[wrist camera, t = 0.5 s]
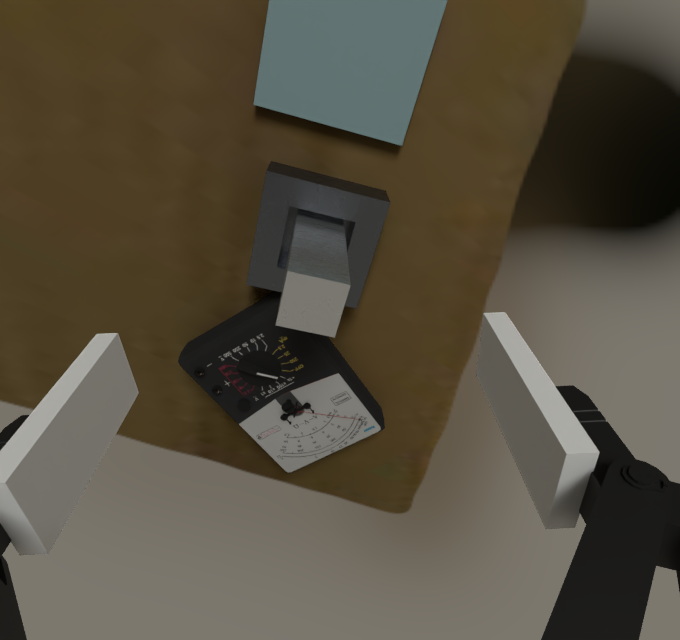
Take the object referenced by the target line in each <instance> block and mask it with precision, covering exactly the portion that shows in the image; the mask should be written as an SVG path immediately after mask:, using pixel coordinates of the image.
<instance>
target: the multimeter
mask: <svg viewBox="0 0 680 640" xmlns="http://www.w3.org/2000/svg"><path fill="white" fill-rule="evenodd" d="M280 298H281V292H278V291H275V292H274V293H272V294H270V295H268V296H267V297H265V298H263V299H262V300H260V301H258V302H257V303H255V304H253V305H251V306H250V307H248V308H246V309H245V310H243V311H241V312H240V313H238V314H236V315H234V316H233V317H231V318H229V319H228V320H226V321H224V322H223V323H221V324H219V325H217V326H216V327H214V328H212V329H211V330H209V331H207V332H205V333H204V334H202V335H200V336H199V337H197V338H195V339H194V340H192V341H190V342H188V343H187V345H186V346H185V347H184V349H183V350H182V352H181V354H180V357H179V360H178V362H179V364H180V366H181V367H182V368H183V369H184V370H185V371H186V372H187V373H188V374H189V375H190V376H191V377H192V378H193V379H194V380H195V381H196V382H197V383H198V384H199V385H200V386H201V387H202V388H203V389H204V390H205V391H206V392H207V393H208V394H209V395H210V396H211V397H212V398H213V399H214V400H215V401H216V402H217V403H218V404H219V405H220V406H221V407H222V408H223V409H224V410H225V411H226V412H227V413H228V414H229V415H230V416H231V417H232V418H233V419H234V420H235V421H236V422H237V423H238V424H239V425H240V426H241V427H242V428H243V429H244V430H245V431H246V432H247V433H248V434H249V435H250V436H251V437H252V438H253V439H254V440H255V441H256V442H257V443H258V444H259V445H260V446H261V447H262V448H263V449H264V450H265V451H266V452H267V453H268V454H269V455H270V456H271V457H272V458H273V459H274V461H275V462H276V463H277V464H278V465H279V466H280V467H281V468H282V469H283V470H284V471H286V472H288V473H290V472H293V471H295V470H297V469H300V468H302V467H304V466H306V465H308V464H310V463H313V462H315V461H317V460H319V459H321V458H323V457H325V456H328V455H330V454H332V453H334V452H336V451H338V450H341V449H343V448H345V447H347V446H349V445H351V444H353V443H356V442H358V441H360V440H362V439H364V438H366V437H368V436H371V435H373V434H375V433H377V432H379V431H381V430H383V429H384V428H385V426H384V417H383V413H382V409H381V407H380V406H379V404H378V403H377V402H376V400H375V399H374V398H373V396H372V395H371V394H370V392H369V391H368V390H367V388H366V387H365V386H364V384H363V383H362V382H361V380H360V379H359V378H358V376H357V375H356V374H355V372H354V371H353V370H352V368H351V367H350V366H349V365H348V363H347V362H346V361H345V359H344V358H343V357H342V355H341V354H340V353H339V351H338V350H337V349H336V347H335V346H334V345H333V343H332V342H331V341H330V339H329V338H328V337H327V336H325V335H320V334H315V333H310V332H305V331H300V330H296V329H291V328H286V327H281V326H276V320H277V314H278V309H279V303H280Z"/></svg>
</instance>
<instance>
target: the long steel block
mask: <svg viewBox="0 0 680 640" xmlns="http://www.w3.org/2000/svg"><path fill="white" fill-rule="evenodd" d="M350 286H351V284H350V275H349V265H348V256H347V247H346V238H345V228H344V219H340V218H336V217H332V216H328V215H324V214H320V213H316V212H312V211H308V210H304V209H300V208H298V212H297V216H296V221H295V225H294V230H293V235H292V239H291V244H290V248H289V253H288V259H287V264H286V270H285V275H284V281H283V287H282V292H281V298H280V303H279V309H278V314H277V320H276V326H281V327H286V328H291V329H296V330H300V331H305V332H310V333H315V334H320V335H325V336H330V337H334V338H335V335H336V332H337V328H338V325H339V322H340V319H341V315H342V312H343V309H344V305H345V302H346V299H347V295H348V292H349V289H350Z"/></svg>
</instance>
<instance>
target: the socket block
mask: <svg viewBox="0 0 680 640" xmlns="http://www.w3.org/2000/svg"><path fill="white" fill-rule="evenodd" d="M389 205H390V200H389V198H388V196H387V193H386V191H384V190H380V189H376V188H372V187H368V186H365V185H361V184H357V183H353V182H349V181H345V180H342V179H338V178H334V177H330V176H326V175H322V174H319V173H315V172H311V171H307V170H303V169H299V168H295V167H292V166H288V165H284V164H280V163H276V162H272V161H271V163H270V165H269V167H268V169H267V171H266V177H265V182H264V188H263V194H262V199H261V205H260V211H259V216H258V222H257V228H256V233H255V239H254V245H253V250H252V256H251V261H250V267H249V273H248V278H247V284H246V285H250V286H255V287H259V288H264V289H269V290H273V291H278V292H282V287H283V281H284V275H285V270H286V264H287V259H288V253H289V248H290V244H291V239H292V235H293V230H294V225H295V221H296V216H297V212H298V208H300V209H304V210H308V211H312V212H316V213H320V214H324V215H328V216H332V217H336V218H340V219H344V228H345V238H346V247H347V256H348V265H349V275H350V284H351V286H350V289H349V292H348V295H347V299H346V302H345V305H344V306H347V307H351V308H356V309H357V306H358V302H359V299H360V296H361V293H362V290H363V287H364V284H365V281H366V277H367V274H368V271H369V268H370V265H371V262H372V259H373V255H374V252H375V249H376V246H377V243H378V240H379V237H380V234H381V230H382V227H383V224H384V221H385V218H386V215H387V212H388V209H389Z"/></svg>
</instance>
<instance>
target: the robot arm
mask: <svg viewBox="0 0 680 640" xmlns="http://www.w3.org/2000/svg"><path fill="white" fill-rule="evenodd" d="M476 376H477V379H478V381H479V383H480V385H481V387H482V390H483V392H484V394H485V396H486V398H487V400H488V403H489V405H490V407H491V409H492V412H493V414H494V416H495V418H496V420H497V423H498V425H499V427H500V429H501V431H502V434H503V436H504V438H505V440H506V443H507V445H508V447H509V449H510V451H511V453H512V456H513V458H514V460H515V462H516V465H517V467H518V469H519V471H520V473H521V476H522V478H523V480H524V482H525V484H526V487H527V489H528V491H529V493H530V496H531V498H532V500H533V502H534V504H535V506H536V509H537V511H538V513H539V515H540V517H541V520H542V522H543V524H544V526H545V529H557V528H574V527H575V526H576V522H577V520H578V517H579V514H581V515H582V517H583V519H584V521H585V523H586V527H585V530H584V532H583V534H582V537H581V540H580V542H579V545H578V547H577V550H576V552H575V555H574V557H573V560H572V562H571V565H570V568H569V570H568V573H567V576H566V578H565V580H564V583H563V585H562V588H561V591H560V593H559V596H558V598H557V601H556V603H555V606H554V608H553V611H552V613H551V616H550V618H549V621H548V624H547V626H546V629H545V631H544V634H543V636H542V639H541V640H639V636H640V632H641V627H642V623H643V619H644V614H645V610H646V606H647V602H648V597H649V593H650V589H651V585H652V580H653V576H654V572H655V568H656V566H660V567H664V568H668V569H672V570H676V571H677V578H678V584H679V591H680V484H678V483H675V482H671V481H669V480H668V478H667V477H666V475H664V474H663V473H662V472H661V471H660V470H659V469H657V468H656V467H654V466H652V465H650V464H648V463H646V462H643V461H640V460H636V459H635V458H634V456H633V455H632V454H631V452H630V451H629V450H628V448H627V447H626V446H625V444H624V443H623V442H622V440H621V439H620V438H619V436H618V435H617V434H616V432H615V431H614V430H613V428H612V427H611V426H610V424H609V423H608V422H606V420H605V418H604V416H603V415H602V414H601V412H600V411H598V408H597V407H596V406H595V404H594V403H593V402H592V400H591V399H590V398H589V396H587V395H586V394H584V393H583V392H582V391H580V390H579V389H577V388H576V387H575V386H556V387H555V385H554V384H553V382H552V381H551V379H550V378H549V377H548V375H547V374H546V372H545V371H544V369H543V368H542V366H541V365H540V363H539V362H538V360H537V359H536V357H535V356H534V354H533V353H532V351H531V350H530V348H529V347H528V345H527V344H526V342H525V341H524V339H523V338H522V336H521V335H520V334H519V332H518V330H517V329H516V328H515V326H514V325H513V323H512V322H511V320H510V319H509V317H508V316H507V314H506V313H505V312H498V313H484V314H483V322H482V330H481V338H480V347H479V355H478V362H477V370H476ZM138 393H139V392H138V389H137V386H136V383H135V381H134V378H133V375H132V372H131V369H130V366H129V363H128V361H127V358H126V355H125V352H124V349H123V346H122V343H121V340H120V338H119V335H118V333H107V334H96V336H95V337H94V338H93V339H92V340H91V342H90V343H89V344H88V345H87V346H86V348H85V349H84V350H83V351H82V352H81V354H80V355H79V356H78V357H77V359H76V360H75V361H74V362H73V363H72V365H71V366H70V367H69V368H68V369H67V371H66V372H65V373H64V374H63V375H62V377H61V378H60V379H59V380H58V382H57V383H56V384H55V385H54V386H53V388H52V389H51V390H50V391H49V392H48V394H47V395H46V396H45V397H44V399H43V400H42V401H41V402H40V403H39V405H38V406H37V407H36V408H35V409H34V411H33V412H32V413H31V414H30V415H23V416H20V417H19V418H18V419H16V420H15V421H13V422H12V423H11V424H9V425H8V426H7V427H5V428H4V429H3V430H2V432H1V433H0V640H27V639H26V635H25V631H24V627H23V623H22V619H21V615H20V611H19V607H18V603H17V600H16V595H15V591H14V588H13V584H12V580H11V576H10V572H9V568H8V564H7V562H6V560H5V559H4V558H3V556H2V554H3V553H4V551H5V550H6V548H7V546H8V545H9V543H10V542H12V544H13V545H14V547H15V548H16V550H17V551H18V553H19V554H20V555H35V554H49V552H50V551H51V549H52V547H53V545H54V544H55V542H56V540H57V538H58V536H59V535H60V533H61V531H62V529H63V527H64V526H65V524H66V522H67V520H68V518H69V517H70V515H71V513H72V511H73V510H74V508H75V506H76V504H77V502H78V501H79V499H80V497H81V495H82V493H83V491H84V490H85V488H86V486H87V484H88V483H89V481H90V479H91V477H92V476H93V474H94V472H95V470H96V468H97V467H98V464H99V463H100V461H101V460H102V458H103V456H104V454H105V452H106V451H107V449H108V447H109V445H110V443H111V442H112V440H113V438H114V436H115V434H116V433H117V431H118V429H119V427H120V426H121V424H122V422H123V420H124V418H125V417H126V415H127V413H128V411H129V409H130V408H131V406H132V404H133V402H134V401H135V399H136V397H137V395H138Z"/></svg>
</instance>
